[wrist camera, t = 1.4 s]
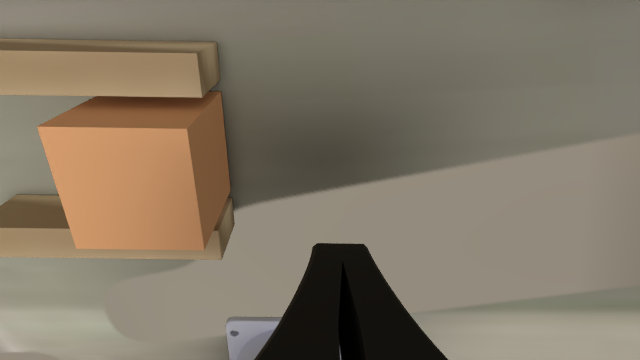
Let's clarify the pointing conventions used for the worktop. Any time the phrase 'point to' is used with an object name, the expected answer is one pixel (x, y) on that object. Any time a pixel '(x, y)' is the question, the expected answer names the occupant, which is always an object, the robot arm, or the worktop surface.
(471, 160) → the worktop surface
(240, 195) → the worktop surface
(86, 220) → the block
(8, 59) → the beige upright blocks
